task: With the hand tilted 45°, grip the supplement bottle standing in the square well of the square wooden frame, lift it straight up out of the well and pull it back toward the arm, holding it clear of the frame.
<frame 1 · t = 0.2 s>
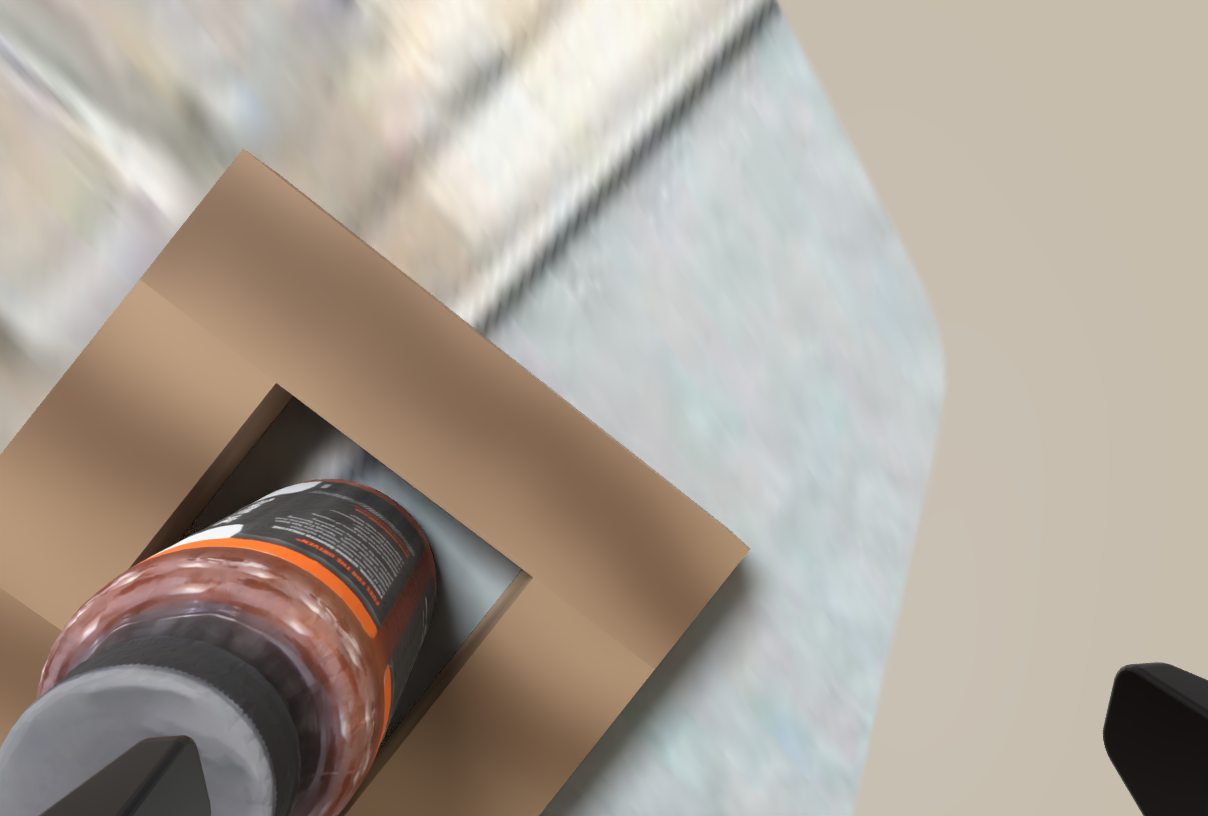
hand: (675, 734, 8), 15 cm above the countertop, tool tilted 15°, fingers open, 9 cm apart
square wooden frame: (333, 580, 23), on the countertop
supplement bottle: (335, 578, 23), resting in square wooden frame
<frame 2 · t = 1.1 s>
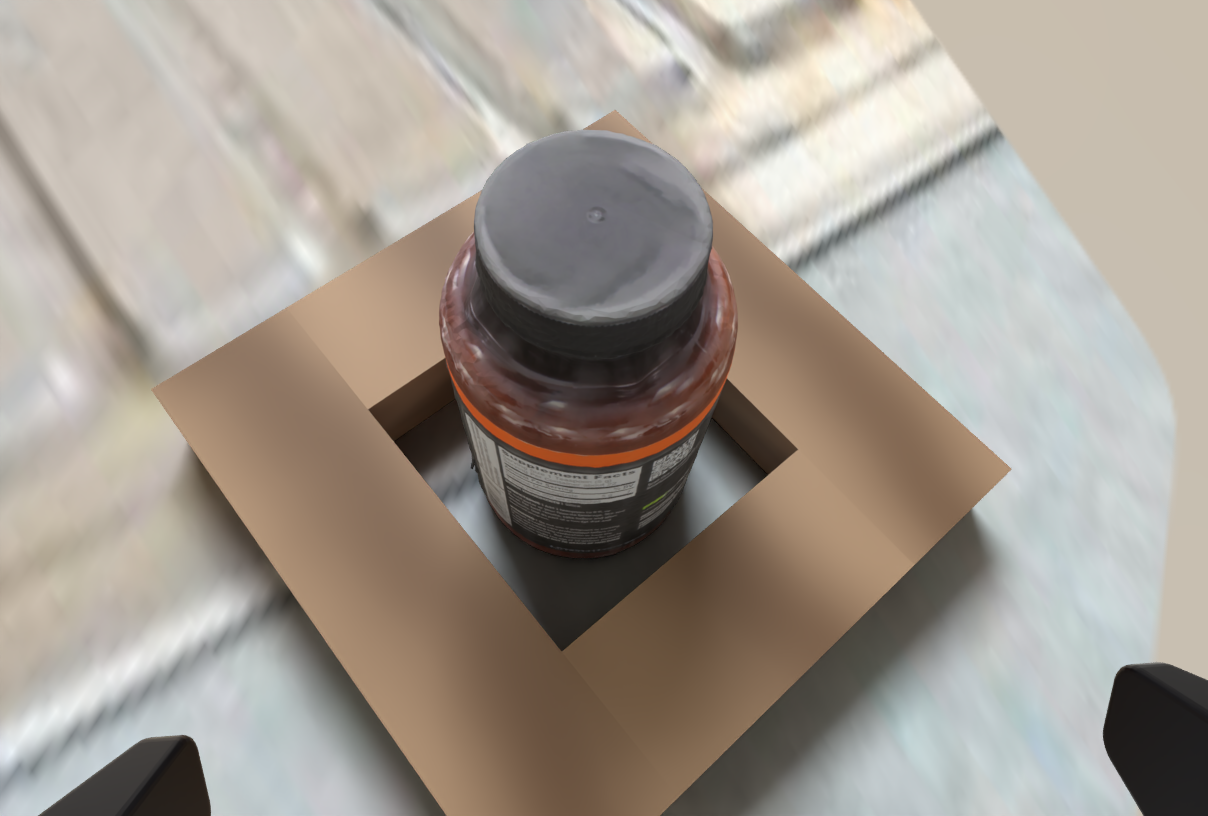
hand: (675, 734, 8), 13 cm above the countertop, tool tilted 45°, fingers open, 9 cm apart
square wooden frame: (581, 464, 23), on the countertop
supplement bottle: (581, 467, 24), resting in square wooden frame
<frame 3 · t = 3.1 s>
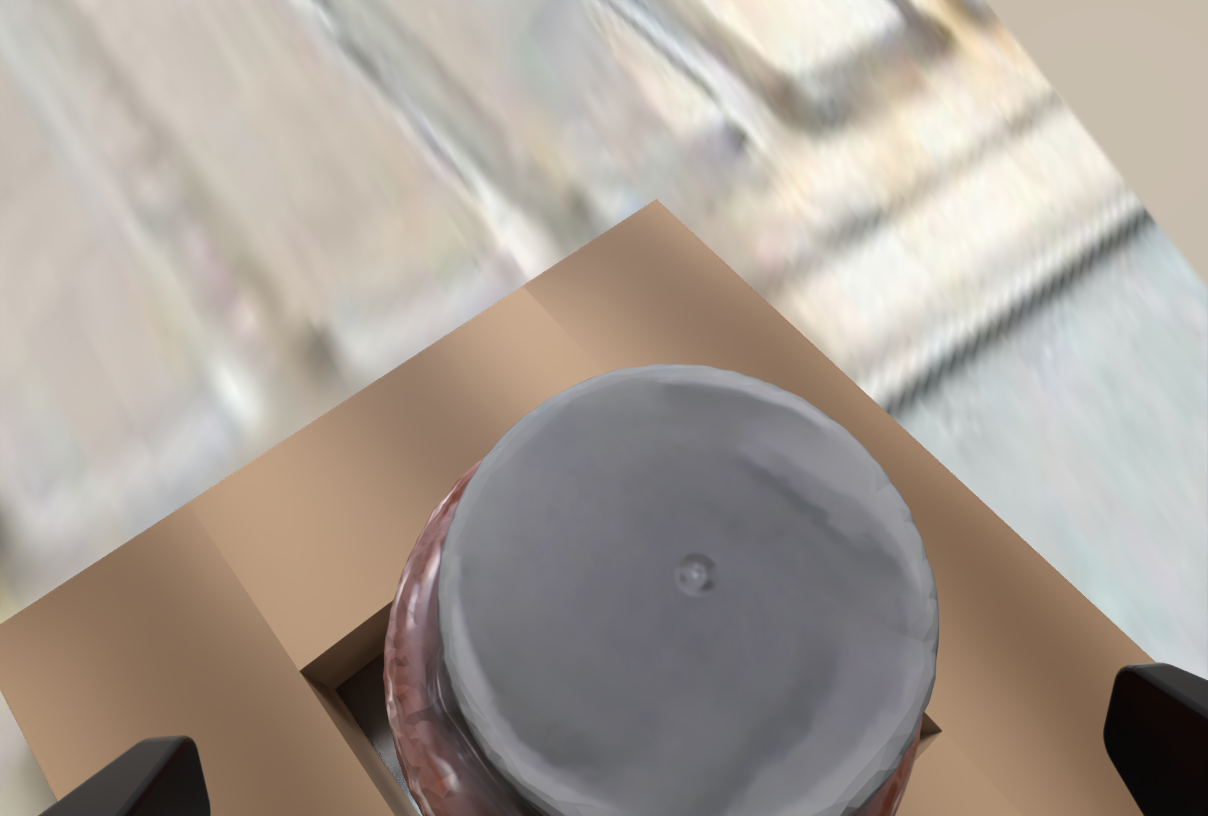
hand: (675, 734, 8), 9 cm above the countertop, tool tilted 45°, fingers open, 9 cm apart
square wooden frame: (613, 715, 16), on the countertop
supplement bottle: (612, 716, 17), resting in square wooden frame
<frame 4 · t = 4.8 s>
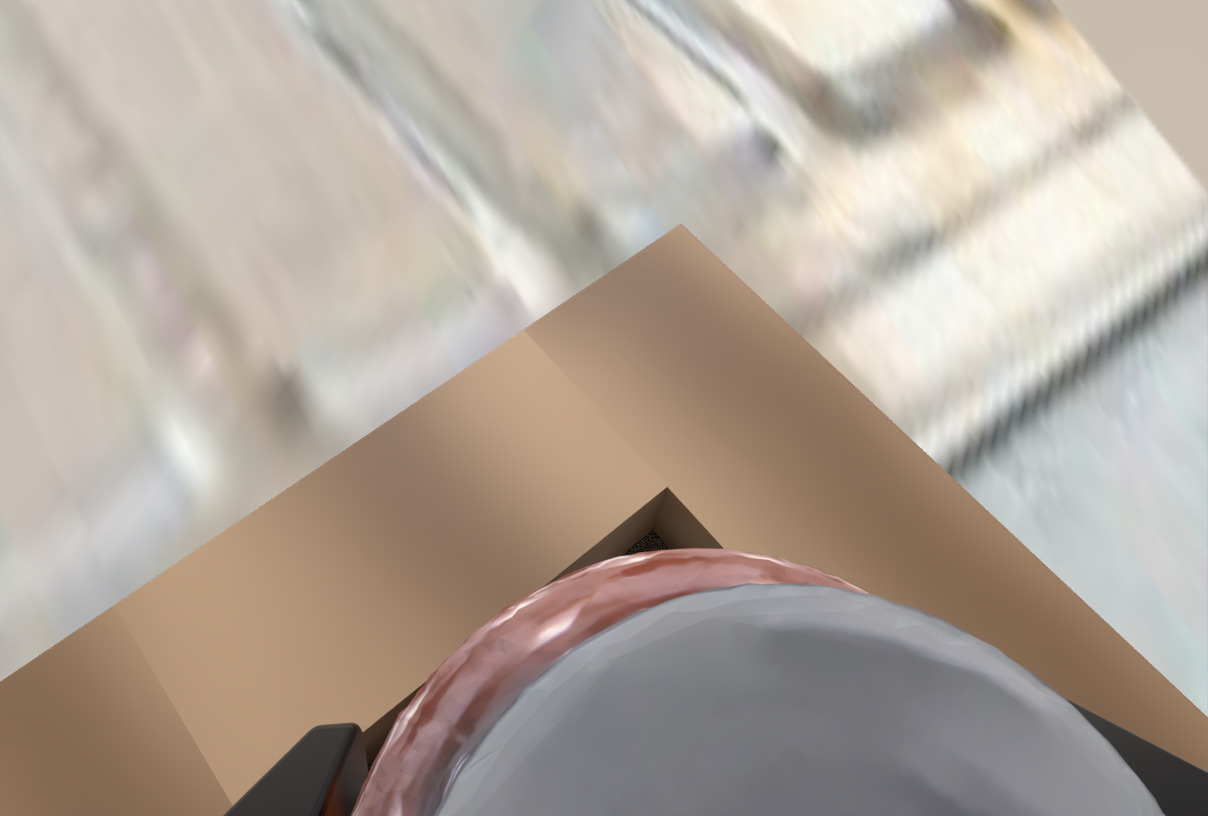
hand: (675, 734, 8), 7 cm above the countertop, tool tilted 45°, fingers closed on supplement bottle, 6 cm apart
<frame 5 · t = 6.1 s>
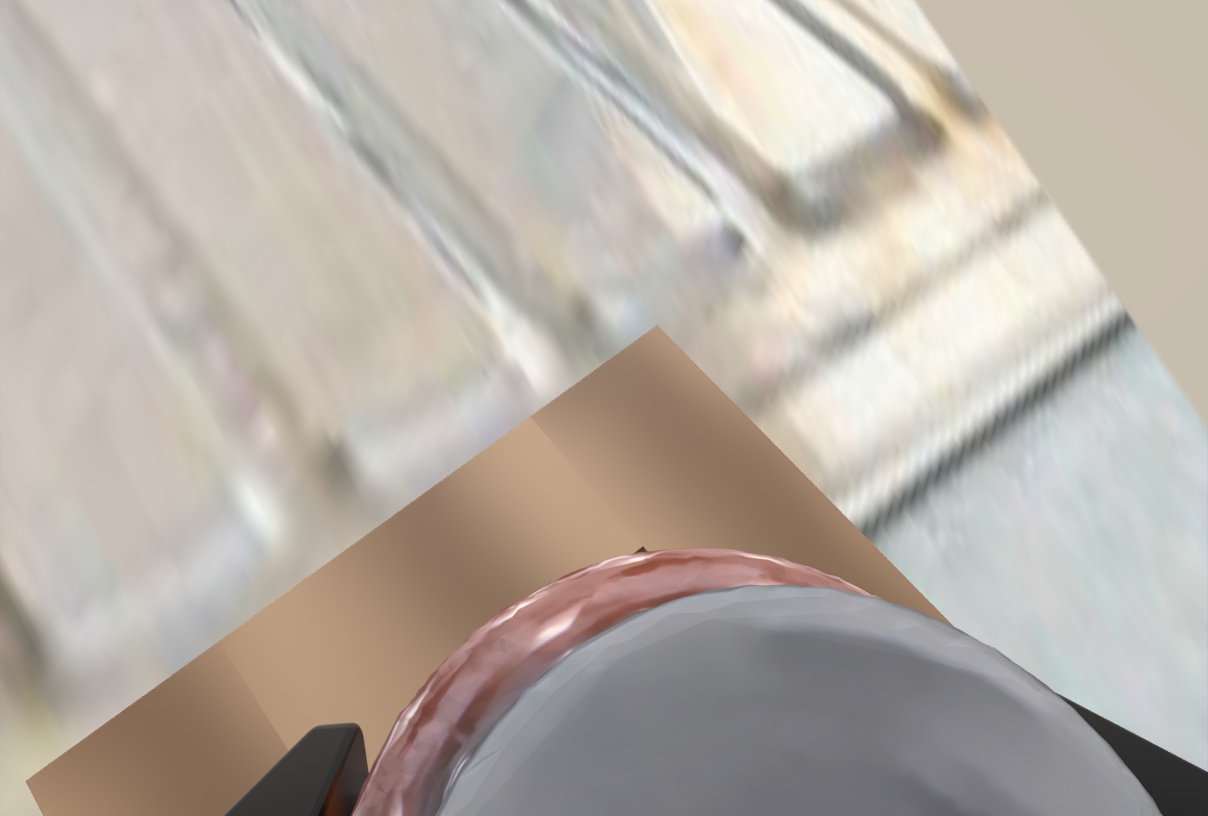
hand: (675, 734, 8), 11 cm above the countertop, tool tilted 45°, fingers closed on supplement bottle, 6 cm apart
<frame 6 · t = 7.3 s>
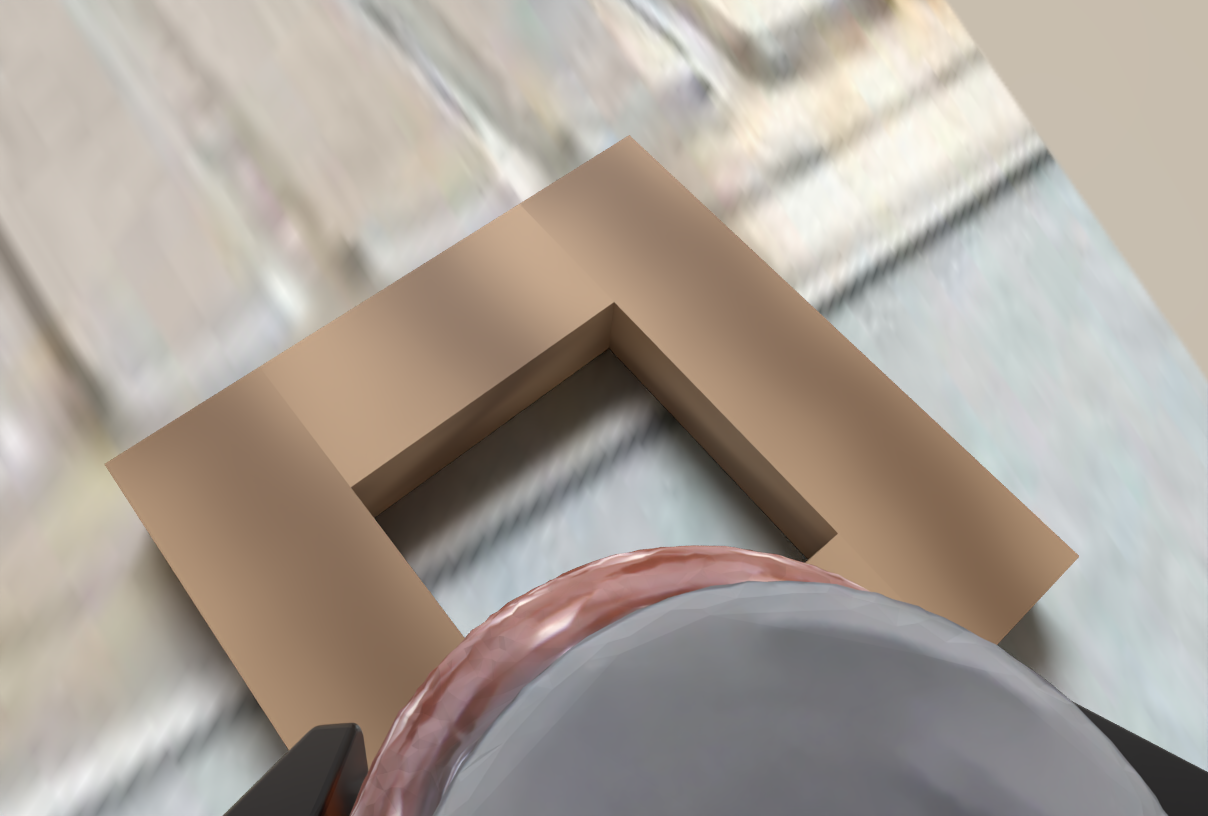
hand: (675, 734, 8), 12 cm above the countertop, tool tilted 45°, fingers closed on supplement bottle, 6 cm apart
square wooden frame: (591, 539, 21), on the countertop
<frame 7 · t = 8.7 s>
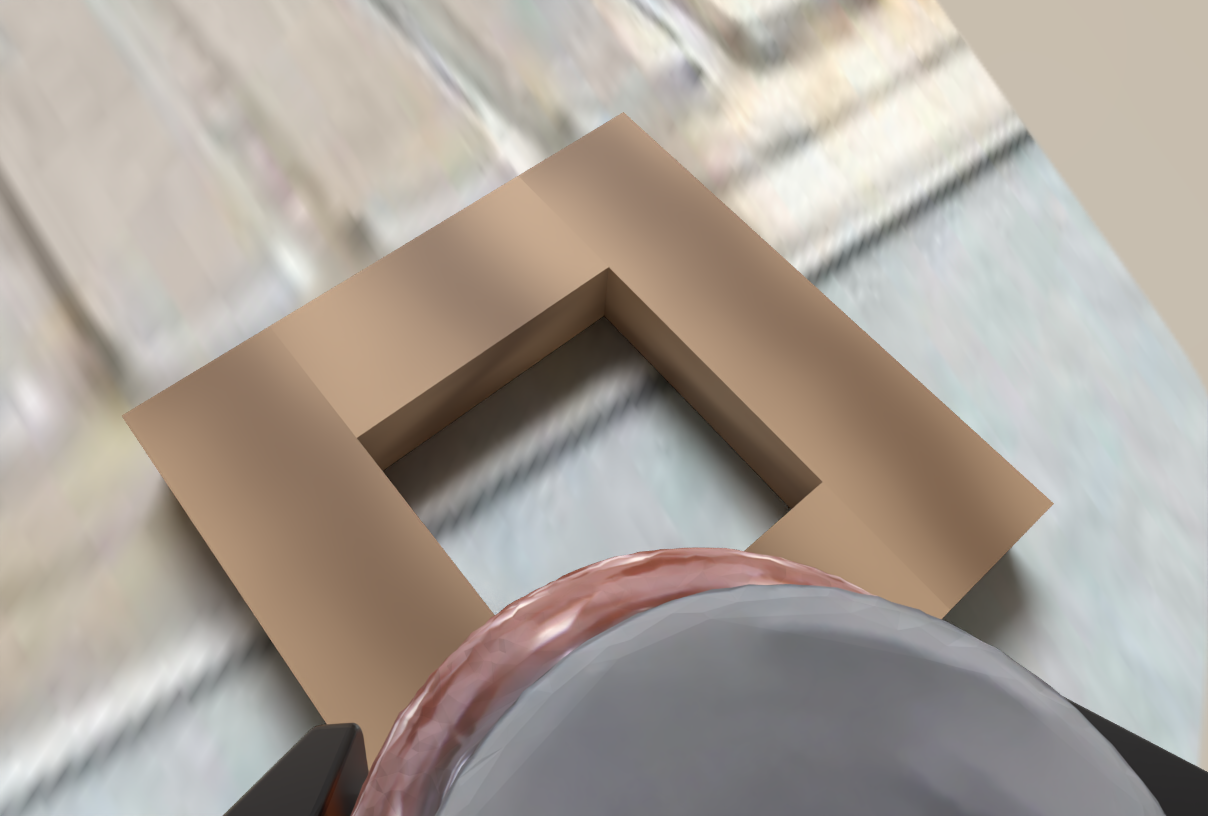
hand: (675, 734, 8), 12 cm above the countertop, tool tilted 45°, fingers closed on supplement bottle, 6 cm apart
square wooden frame: (587, 494, 22), on the countertop
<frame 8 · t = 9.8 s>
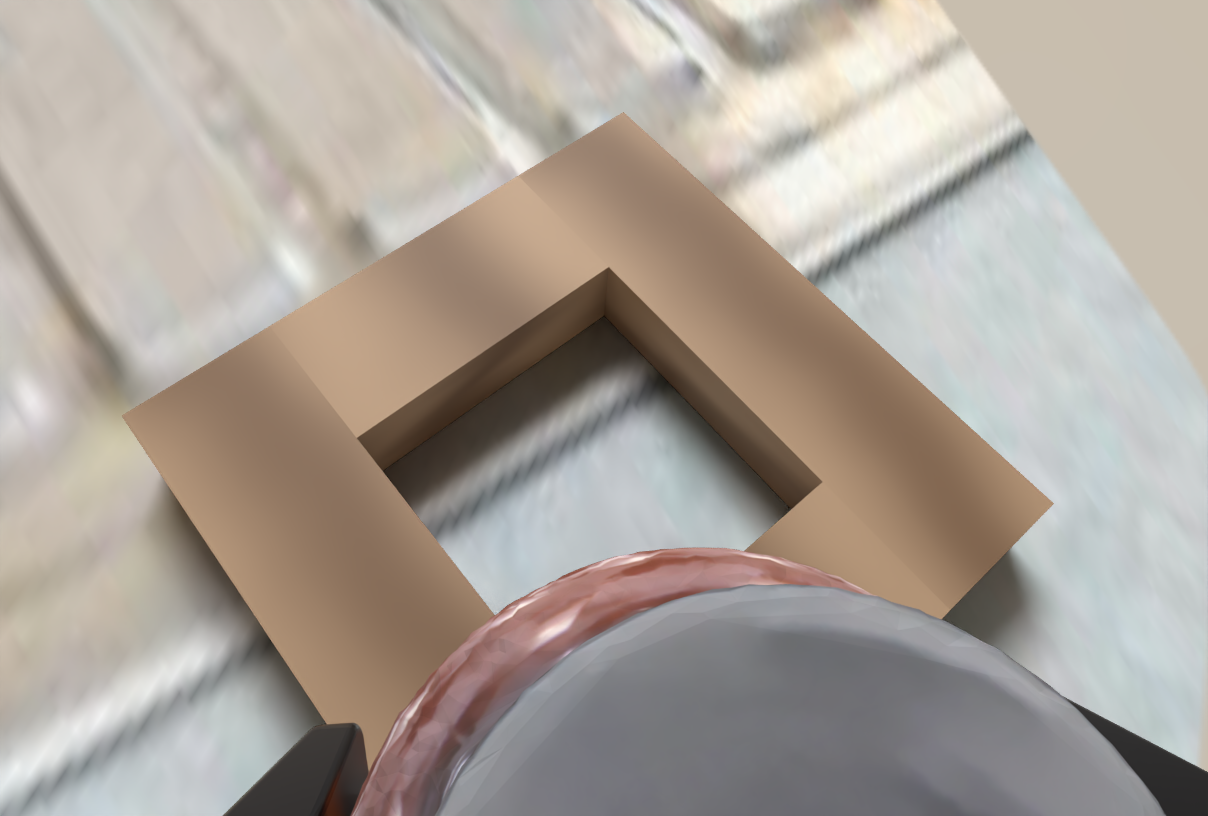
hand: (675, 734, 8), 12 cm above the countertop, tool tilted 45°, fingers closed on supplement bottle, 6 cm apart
square wooden frame: (587, 494, 22), on the countertop
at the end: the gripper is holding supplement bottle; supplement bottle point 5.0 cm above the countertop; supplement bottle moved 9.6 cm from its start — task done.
